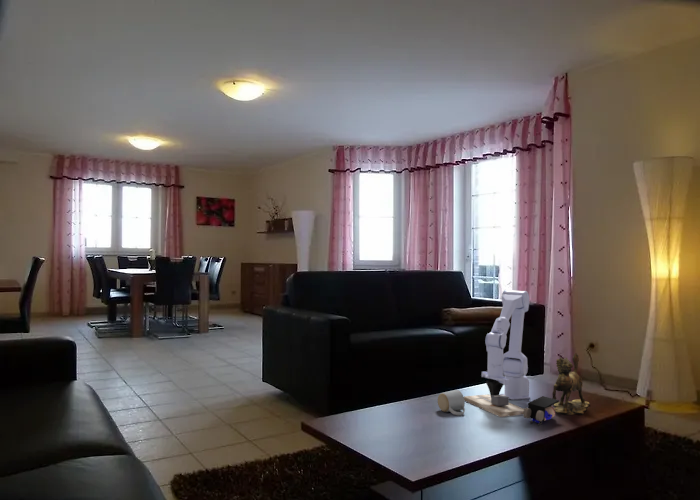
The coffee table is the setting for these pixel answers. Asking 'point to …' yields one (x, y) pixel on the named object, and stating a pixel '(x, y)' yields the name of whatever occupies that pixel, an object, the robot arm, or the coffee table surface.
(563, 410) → the figurine
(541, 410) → the figurine character
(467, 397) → the fader console
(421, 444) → the coffee table surface
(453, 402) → the ceramic mug
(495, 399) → the fader tab
